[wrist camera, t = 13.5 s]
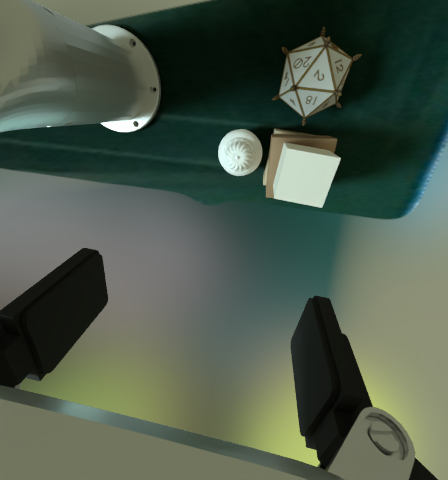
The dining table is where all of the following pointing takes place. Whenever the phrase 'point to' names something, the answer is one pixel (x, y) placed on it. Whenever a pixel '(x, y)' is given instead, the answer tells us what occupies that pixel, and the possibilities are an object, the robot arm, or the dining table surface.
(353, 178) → the dining table surface
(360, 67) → the dining table surface
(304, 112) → the game die
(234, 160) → the white rounded piece
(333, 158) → the ivory cube
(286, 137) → the walnut block
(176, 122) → the dining table surface
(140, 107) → the robot arm
